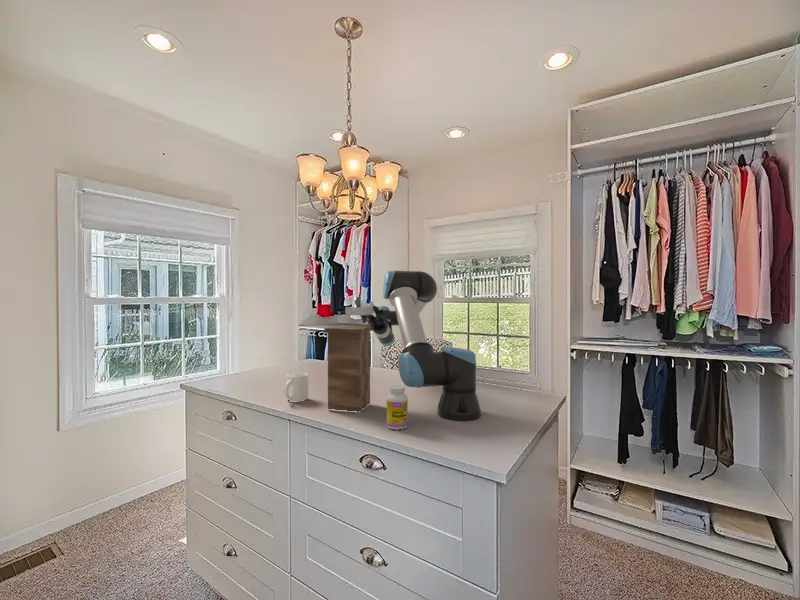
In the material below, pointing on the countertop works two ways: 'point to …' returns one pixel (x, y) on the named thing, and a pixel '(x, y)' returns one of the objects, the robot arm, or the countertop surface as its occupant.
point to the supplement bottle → (397, 408)
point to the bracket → (358, 309)
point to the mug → (297, 387)
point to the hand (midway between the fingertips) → (366, 303)
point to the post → (348, 367)
